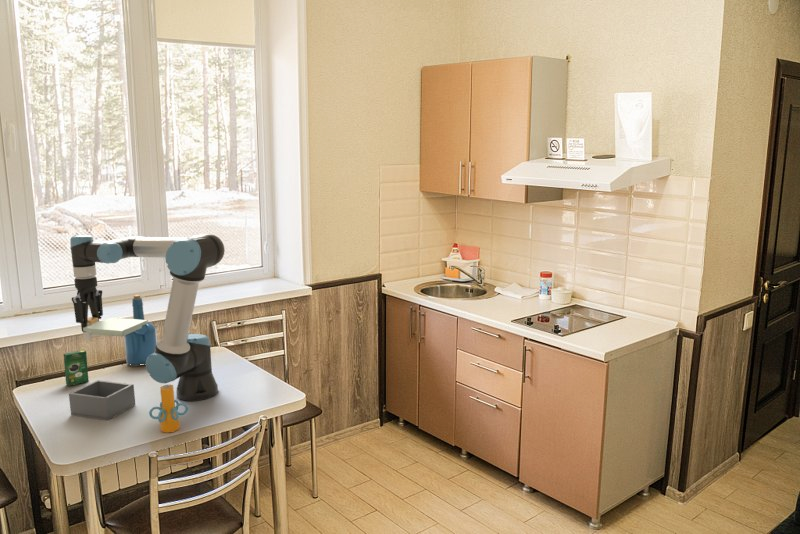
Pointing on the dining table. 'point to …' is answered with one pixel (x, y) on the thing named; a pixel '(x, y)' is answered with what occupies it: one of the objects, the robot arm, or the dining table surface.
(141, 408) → the dining table surface
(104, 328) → the lid
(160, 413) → the orange post with rings
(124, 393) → the tub
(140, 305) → the wine bottle
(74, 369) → the coffee box
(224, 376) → the dining table surface
